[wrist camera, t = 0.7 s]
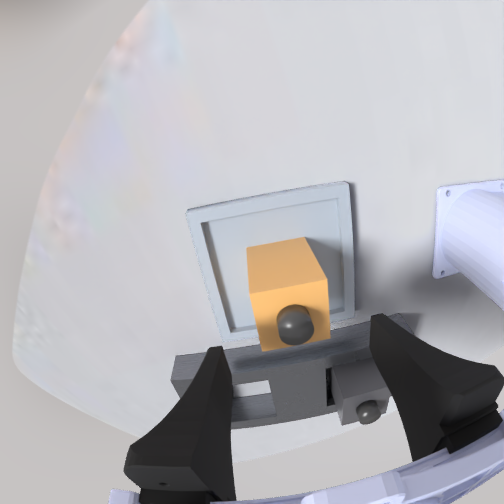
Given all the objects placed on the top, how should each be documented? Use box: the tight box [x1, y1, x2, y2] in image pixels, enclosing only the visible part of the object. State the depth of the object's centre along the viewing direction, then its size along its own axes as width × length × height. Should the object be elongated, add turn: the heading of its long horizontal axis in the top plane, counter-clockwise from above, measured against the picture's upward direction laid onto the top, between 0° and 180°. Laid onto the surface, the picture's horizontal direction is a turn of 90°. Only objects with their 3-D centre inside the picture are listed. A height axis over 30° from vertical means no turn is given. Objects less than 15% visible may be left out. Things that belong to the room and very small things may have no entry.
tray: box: [185, 181, 355, 342], centre depth 21 cm, size 11×11×1 cm
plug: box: [246, 237, 331, 352], centre depth 18 cm, size 4×4×7 cm
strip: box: [171, 314, 414, 429], centre depth 25 cm, size 20×8×3 cm, turn 100°
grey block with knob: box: [327, 357, 390, 425], centre depth 23 cm, size 4×4×7 cm
